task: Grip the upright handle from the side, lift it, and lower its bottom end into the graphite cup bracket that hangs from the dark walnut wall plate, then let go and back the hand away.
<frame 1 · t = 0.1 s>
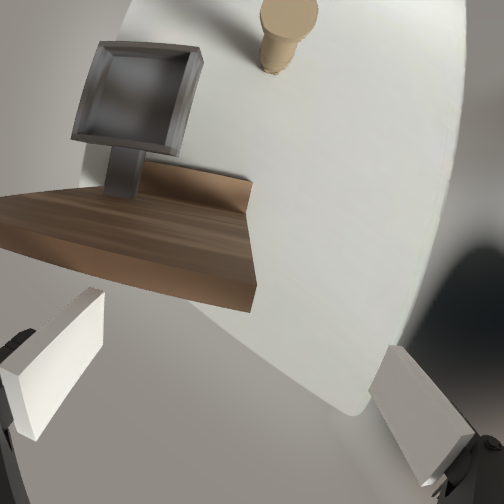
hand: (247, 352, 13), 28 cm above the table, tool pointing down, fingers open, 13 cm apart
handle: (272, 65, 35), on the table
bracket: (163, 117, 36), on the table
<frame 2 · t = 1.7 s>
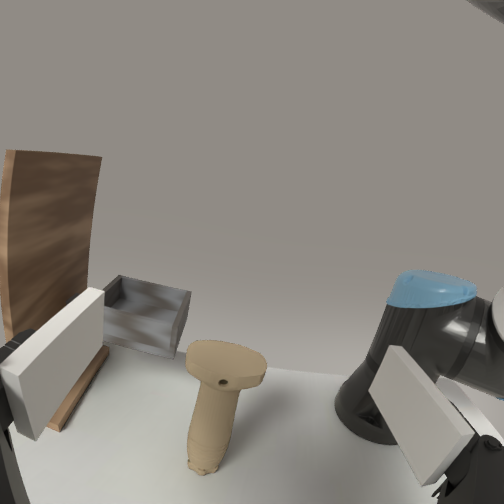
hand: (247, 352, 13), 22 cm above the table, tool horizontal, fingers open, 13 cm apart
handle: (202, 466, 27), on the table
bracket: (137, 382, 38), on the table
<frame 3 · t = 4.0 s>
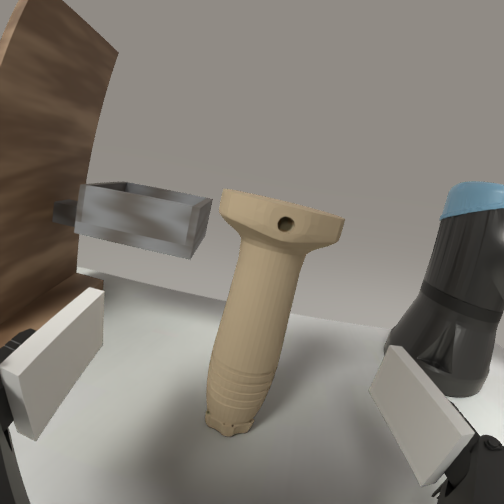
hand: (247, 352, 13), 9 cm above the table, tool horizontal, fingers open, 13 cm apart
handle: (226, 424, 19), on the table
bracket: (136, 319, 30), on the table
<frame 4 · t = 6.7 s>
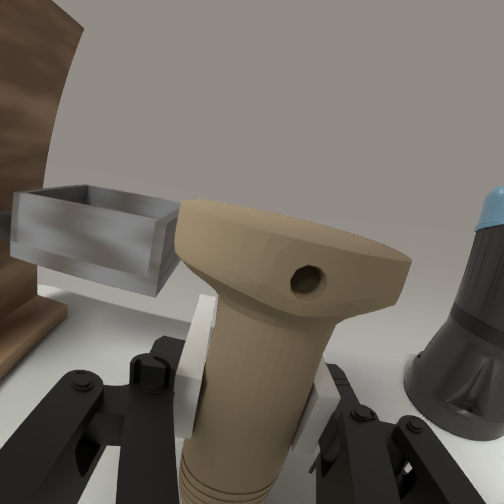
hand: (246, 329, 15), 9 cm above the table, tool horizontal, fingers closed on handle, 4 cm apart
bracket: (101, 358, 22), on the table
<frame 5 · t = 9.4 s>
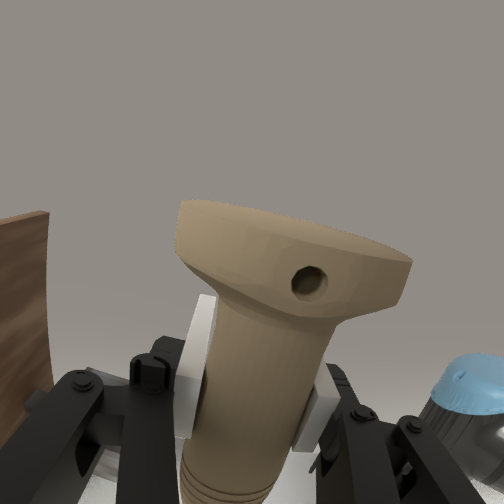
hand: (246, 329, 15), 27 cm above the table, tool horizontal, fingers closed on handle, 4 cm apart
bracket: (122, 484, 26), on the table
when the fingers open (20 cm above the table, at t = 12.1 s): handle drops 1 cm, resting on bracket.
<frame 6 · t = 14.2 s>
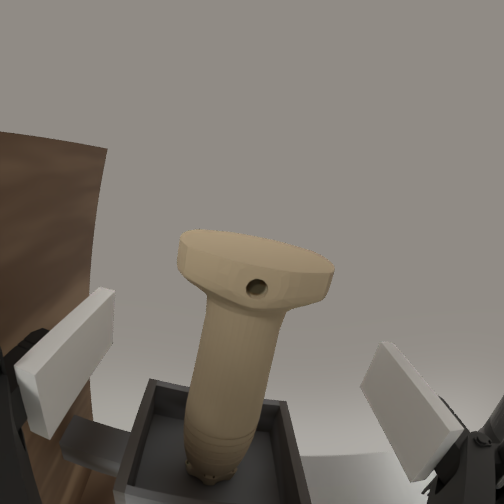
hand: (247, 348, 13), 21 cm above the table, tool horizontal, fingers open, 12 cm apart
handle: (209, 470, 17), point 10 cm above the table, touching bracket
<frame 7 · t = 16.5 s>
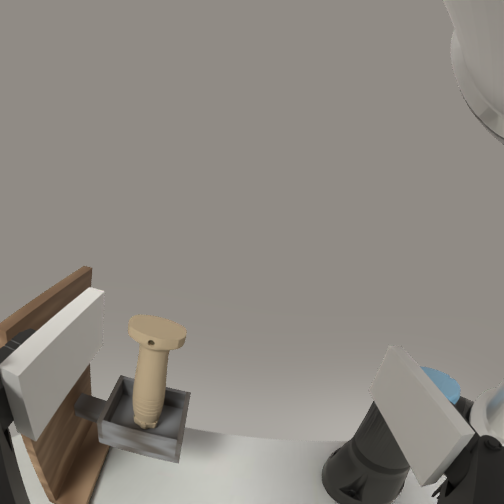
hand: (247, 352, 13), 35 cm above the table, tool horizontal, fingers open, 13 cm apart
handle: (145, 423, 35), point 10 cm above the table, touching bracket
bracket: (144, 463, 37), on the table
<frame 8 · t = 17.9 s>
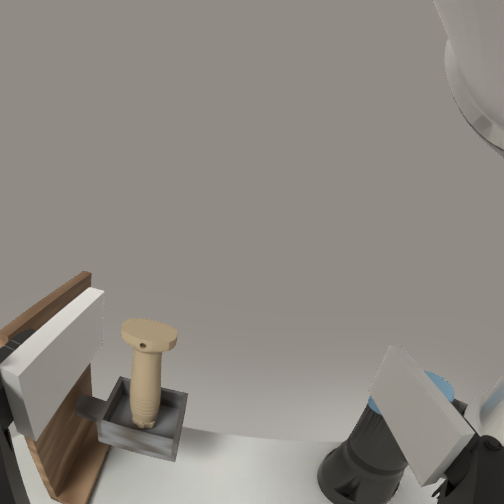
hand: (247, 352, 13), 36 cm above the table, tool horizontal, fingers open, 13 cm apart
handle: (144, 423, 36), point 10 cm above the table, touching bracket
bracket: (143, 462, 38), on the table
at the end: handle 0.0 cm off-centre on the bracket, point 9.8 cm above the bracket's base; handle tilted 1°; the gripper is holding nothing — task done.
